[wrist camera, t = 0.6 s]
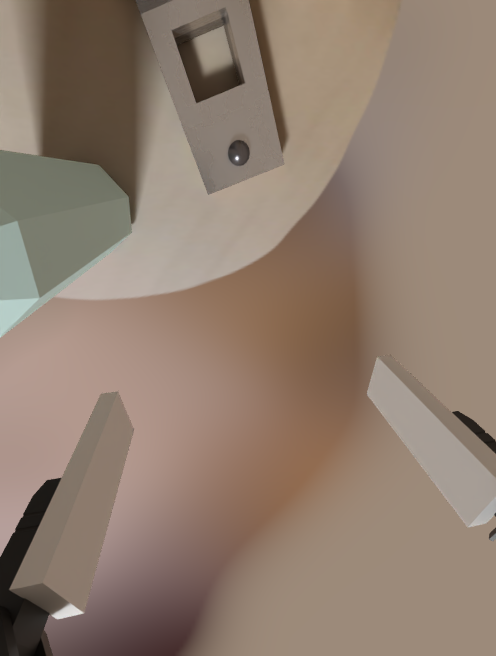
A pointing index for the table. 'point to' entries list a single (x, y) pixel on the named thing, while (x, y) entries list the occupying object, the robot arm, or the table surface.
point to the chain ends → (225, 108)
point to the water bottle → (52, 228)
